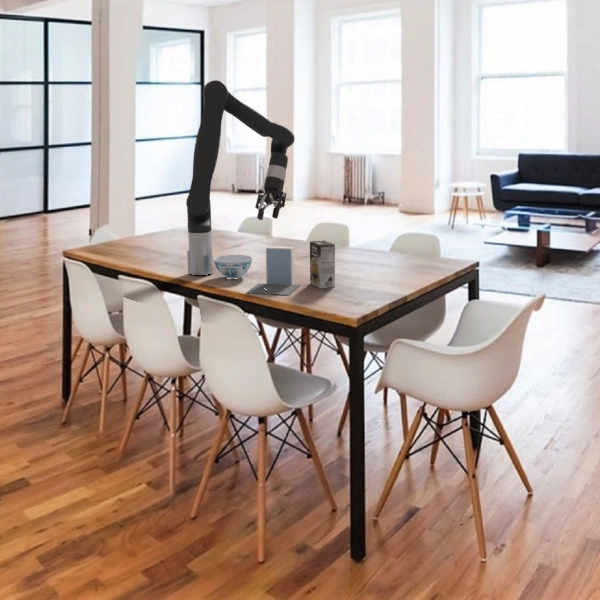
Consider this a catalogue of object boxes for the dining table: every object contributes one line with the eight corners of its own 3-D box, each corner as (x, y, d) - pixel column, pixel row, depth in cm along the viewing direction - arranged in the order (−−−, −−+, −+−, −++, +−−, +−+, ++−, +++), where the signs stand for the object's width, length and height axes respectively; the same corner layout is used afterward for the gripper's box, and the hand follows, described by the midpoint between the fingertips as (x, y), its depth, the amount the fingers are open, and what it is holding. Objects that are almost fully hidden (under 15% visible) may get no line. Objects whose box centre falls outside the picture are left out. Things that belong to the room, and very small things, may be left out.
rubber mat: (245, 293, 258) (245, 292, 258) (258, 284, 272) (258, 283, 272) (289, 295, 254) (289, 294, 254) (299, 286, 269) (299, 285, 268)
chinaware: (206, 279, 281) (205, 260, 279) (228, 272, 294) (227, 253, 292) (239, 283, 274) (238, 263, 272) (259, 275, 287) (259, 256, 285)
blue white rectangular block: (266, 284, 272) (265, 247, 269) (268, 282, 275) (267, 246, 271) (292, 285, 270) (291, 248, 266) (293, 284, 272) (293, 247, 269)
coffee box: (309, 283, 272) (309, 241, 268) (324, 282, 274) (324, 240, 270) (319, 288, 264) (319, 245, 260) (335, 287, 266) (335, 243, 262)
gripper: (256, 177, 284) (247, 217, 281) (280, 173, 274) (272, 214, 271) (269, 184, 289) (261, 223, 286) (294, 180, 279) (286, 220, 276)
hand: (267, 218), depth 279 cm, fingers open, 8 cm apart
